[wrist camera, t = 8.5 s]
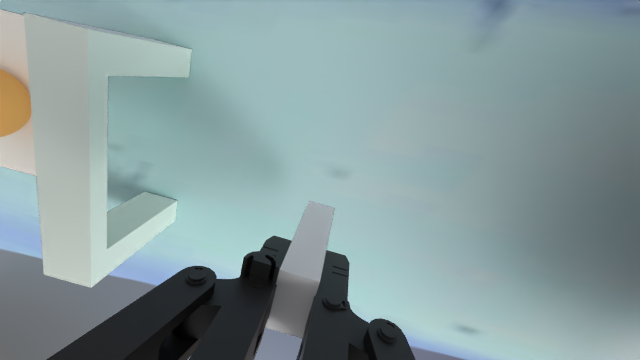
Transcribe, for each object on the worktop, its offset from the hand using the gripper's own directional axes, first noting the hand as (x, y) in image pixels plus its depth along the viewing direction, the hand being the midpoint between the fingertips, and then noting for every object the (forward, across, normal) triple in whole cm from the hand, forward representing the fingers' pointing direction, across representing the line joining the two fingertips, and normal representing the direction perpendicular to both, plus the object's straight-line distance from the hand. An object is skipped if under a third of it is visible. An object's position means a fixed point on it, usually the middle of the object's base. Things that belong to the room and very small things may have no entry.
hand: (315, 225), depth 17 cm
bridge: (+7, +14, 0) cm, 16 cm away
